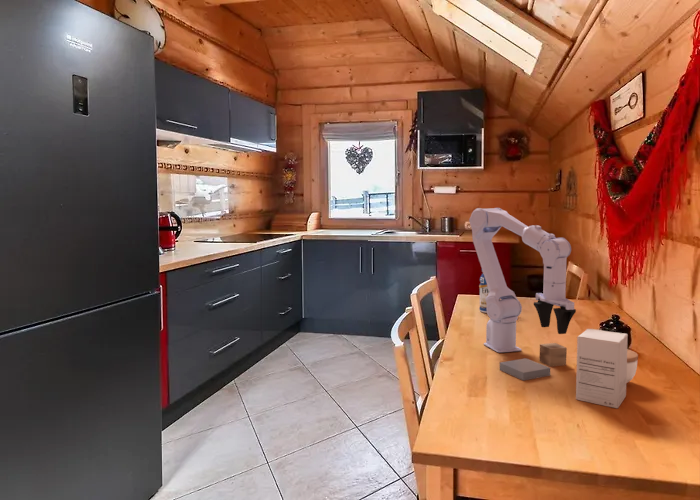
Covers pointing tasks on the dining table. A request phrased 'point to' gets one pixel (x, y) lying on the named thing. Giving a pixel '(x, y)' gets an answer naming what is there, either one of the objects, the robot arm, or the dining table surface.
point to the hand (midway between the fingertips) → (553, 330)
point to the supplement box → (601, 367)
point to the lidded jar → (631, 364)
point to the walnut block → (553, 354)
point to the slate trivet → (524, 369)
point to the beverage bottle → (483, 294)
